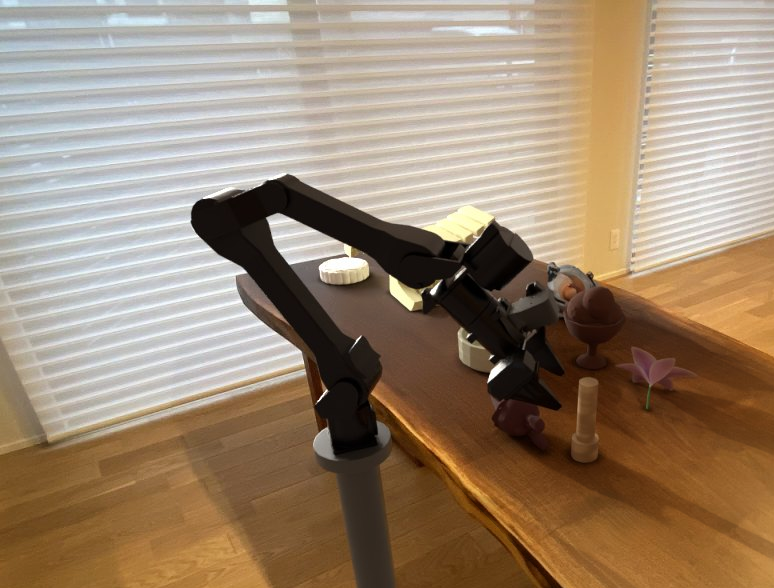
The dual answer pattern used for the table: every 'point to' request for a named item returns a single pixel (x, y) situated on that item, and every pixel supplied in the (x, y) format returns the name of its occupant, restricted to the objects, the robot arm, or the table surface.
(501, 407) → the icecream
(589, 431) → the cylinder
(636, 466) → the table surface
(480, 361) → the bowl
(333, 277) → the mooncake
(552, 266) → the grey pot with food
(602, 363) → the ice cream bowl
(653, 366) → the lily
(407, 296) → the slatted curved stool
